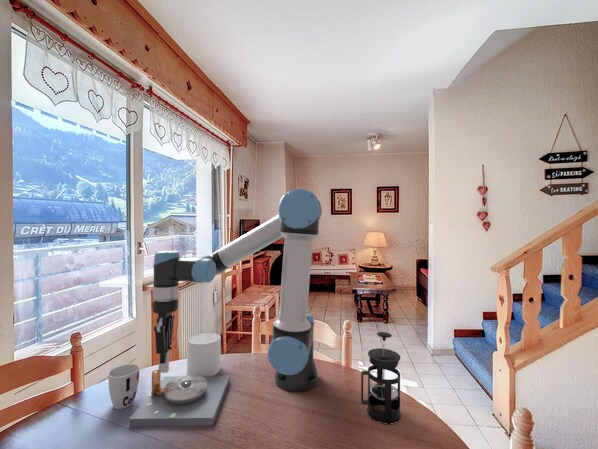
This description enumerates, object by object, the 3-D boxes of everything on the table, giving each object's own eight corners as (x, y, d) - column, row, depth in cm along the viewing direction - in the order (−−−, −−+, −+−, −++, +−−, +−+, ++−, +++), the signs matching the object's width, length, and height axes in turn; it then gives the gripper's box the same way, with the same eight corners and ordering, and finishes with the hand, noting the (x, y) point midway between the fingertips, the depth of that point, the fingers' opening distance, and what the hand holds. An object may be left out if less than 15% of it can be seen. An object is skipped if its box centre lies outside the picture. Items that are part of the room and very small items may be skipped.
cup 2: (207, 360, 116) (207, 330, 116) (226, 369, 109) (227, 337, 109) (180, 372, 106) (180, 339, 106) (199, 382, 99) (200, 347, 99)
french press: (397, 404, 88) (397, 328, 88) (408, 425, 79) (408, 339, 79) (358, 403, 88) (358, 327, 89) (364, 424, 79) (365, 339, 79)
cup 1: (124, 414, 82) (125, 378, 82) (100, 410, 84) (101, 375, 84) (145, 397, 90) (145, 365, 90) (122, 394, 92) (123, 362, 92)
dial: (211, 382, 95) (211, 362, 95) (199, 404, 83) (200, 381, 83) (160, 382, 94) (160, 362, 94) (141, 405, 82) (142, 382, 82)
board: (229, 381, 100) (229, 375, 100) (213, 425, 78) (213, 417, 78) (164, 382, 99) (164, 375, 99) (129, 426, 77) (129, 418, 77)
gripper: (160, 294, 100) (158, 362, 100) (145, 304, 88) (143, 382, 87) (183, 294, 101) (181, 361, 101) (171, 303, 88) (169, 381, 88)
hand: (163, 371), depth 94 cm, fingers closed
